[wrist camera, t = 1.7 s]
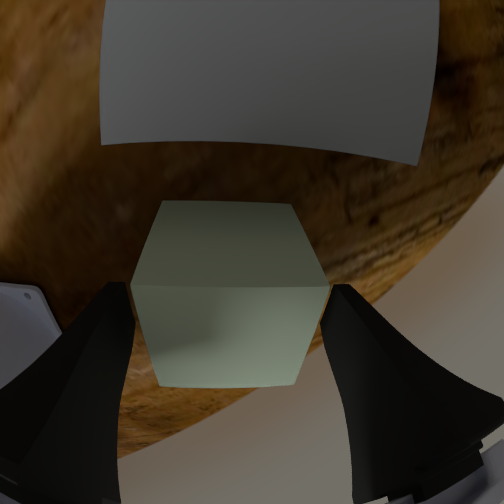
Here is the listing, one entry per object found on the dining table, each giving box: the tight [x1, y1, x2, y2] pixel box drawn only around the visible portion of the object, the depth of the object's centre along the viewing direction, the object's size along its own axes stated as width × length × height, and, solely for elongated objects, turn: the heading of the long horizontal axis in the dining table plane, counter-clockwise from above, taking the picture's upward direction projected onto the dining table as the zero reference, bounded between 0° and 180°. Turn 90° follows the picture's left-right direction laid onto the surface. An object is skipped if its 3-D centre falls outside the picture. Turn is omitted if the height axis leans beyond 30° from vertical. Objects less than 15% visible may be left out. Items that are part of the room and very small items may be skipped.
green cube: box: [130, 201, 330, 388], centre depth 10 cm, size 5×5×5 cm
